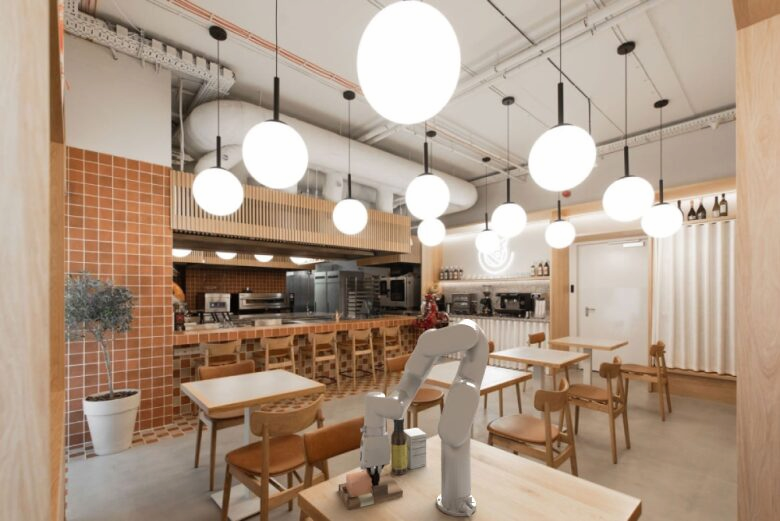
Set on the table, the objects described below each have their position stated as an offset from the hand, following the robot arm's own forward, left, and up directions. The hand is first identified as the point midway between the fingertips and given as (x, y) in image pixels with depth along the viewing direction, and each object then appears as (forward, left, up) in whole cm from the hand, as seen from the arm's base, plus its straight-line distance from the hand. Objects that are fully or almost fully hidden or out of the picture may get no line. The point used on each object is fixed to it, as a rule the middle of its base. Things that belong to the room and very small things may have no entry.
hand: (374, 484), depth 126 cm
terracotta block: (0, +6, -1) cm, 6 cm away
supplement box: (+13, -22, -3) cm, 26 cm away
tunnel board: (0, +2, -3) cm, 3 cm away
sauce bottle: (+10, -14, -3) cm, 17 cm away
